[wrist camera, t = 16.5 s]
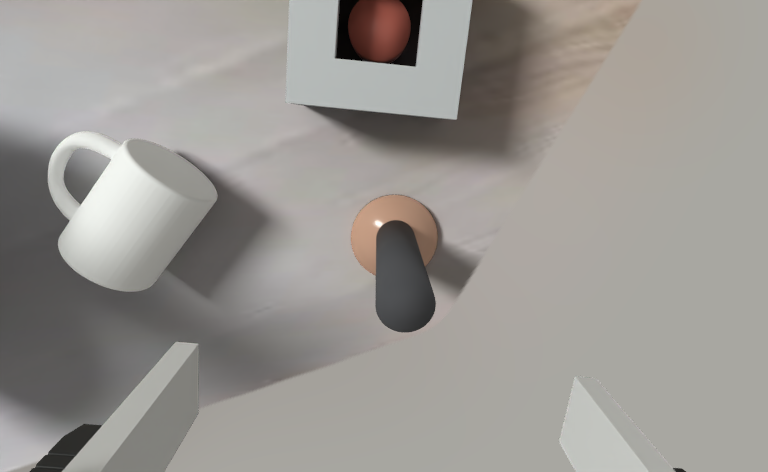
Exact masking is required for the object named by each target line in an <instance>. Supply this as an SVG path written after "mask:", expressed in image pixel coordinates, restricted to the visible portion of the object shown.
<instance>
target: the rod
mask: <svg viewBox="0 0 768 472" xmlns="http://www.w3.org/2000/svg"><path fill="white" fill-rule="evenodd" d="M435 305H436V303H435V297H434V293H433V290H432V287H431V284H430V281H429V278H428V275H427V271H426V268H425V265H424V262H423V259H422V256H421V253H420V249H419V246H418V243H417V240H416V237H415V234H414V231H413V229H412V228H411V227H410V226H409V225H408V224H407V223H405V222H403V221H400V220H392V221H389V222H386V223H385V224H383V225H382V226H381V227H380V229H379V230H378V232H377V236H376V312H377V315H378V317H379V319H380V320H381V321H382V323H383V324H384V325H385V326H387V327H388V328H390V329H392V330H394V331H398V332H412V331H416V330H418V329H420V328H422V327H424V326H425V325H426V324H427V323H428V322H429V321H430V320H431V318H432V316H433V314H434V311H435Z"/></svg>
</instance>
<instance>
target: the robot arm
mask: <svg viewBox="0 0 768 472" xmlns="http://www.w3.org/2000/svg"><path fill="white" fill-rule="evenodd" d="M198 399H199V344H197V343H185V342H175V343H174V344H173V345H172V347H171V348H170V349H169V350H168V351H167V352H166V353H165V355H164V356H163V357H162V358H161V359H160V360H159V361H158V363H157V364H156V365H155V366H154V367H153V368H152V369H151V371H150V372H149V373H148V374H147V375H146V376H145V377H144V379H143V380H142V381H141V382H140V383H139V384H138V385H137V387H136V388H135V389H134V390H133V391H132V392H131V393H130V395H129V396H128V397H127V398H126V399H125V400H124V401H123V403H122V404H121V405H120V406H119V407H118V408H117V409H116V410H115V412H114V413H113V414H112V415H111V416H110V417H109V418H108V420H107V421H106V422H105V423H104V424H103V425H89V424H83V425H82V426H80V427H78V428H77V429H75V430H74V431H72V432H70V433H69V434H67V435H65V436H64V437H63V438H62V439H61V440H60V441H59V442H58V443H57V444H56V445H55V446H54V447H53V448H52V449H51V450H50V451H49V453H48V455H45V456H44V457H43V458H42V459H41V460H40V461H39V462H38V463H37V465H36V467H35V468H33V469H32V470H31V471H30V472H164V471H165V470H166V468H167V466H168V464H169V463H170V461H171V459H172V458H173V456H174V454H175V453H176V451H177V449H178V447H179V446H180V444H181V442H182V441H183V439H184V437H185V436H186V434H187V432H188V430H189V429H190V427H191V425H192V424H193V422H194V420H195V419H196V417H197V415H198ZM559 443H560V445H561V446H562V448H563V450H564V452H565V454H566V455H567V457H568V459H569V461H570V462H571V464H572V466H573V467H574V469H575V471H576V472H686V471H684V470H683V469H678V468H672V467H671V466H670V465H669V463H668V462H667V461H666V460H665V458H663V456H662V455H661V454H660V453H659V451H658V450H657V449H656V448H655V447H654V446H653V444H652V443H651V442H650V441H649V440H648V438H647V437H646V436H645V435H644V434H643V433H642V431H641V430H640V429H639V428H638V427H637V426H636V424H635V423H634V422H633V421H632V420H631V419H630V417H629V416H628V415H627V414H626V413H625V411H624V410H623V409H622V408H621V407H620V405H619V404H618V403H617V402H616V401H615V400H614V398H613V397H612V396H611V395H610V394H609V393H608V391H607V390H606V389H605V388H604V387H603V385H602V384H601V383H600V382H599V381H598V380H597V379H596V378H590V377H579V376H575V379H574V383H573V387H572V391H571V395H570V399H569V404H568V408H567V412H566V416H565V419H564V424H563V427H562V432H561V436H560V440H559Z"/></svg>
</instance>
